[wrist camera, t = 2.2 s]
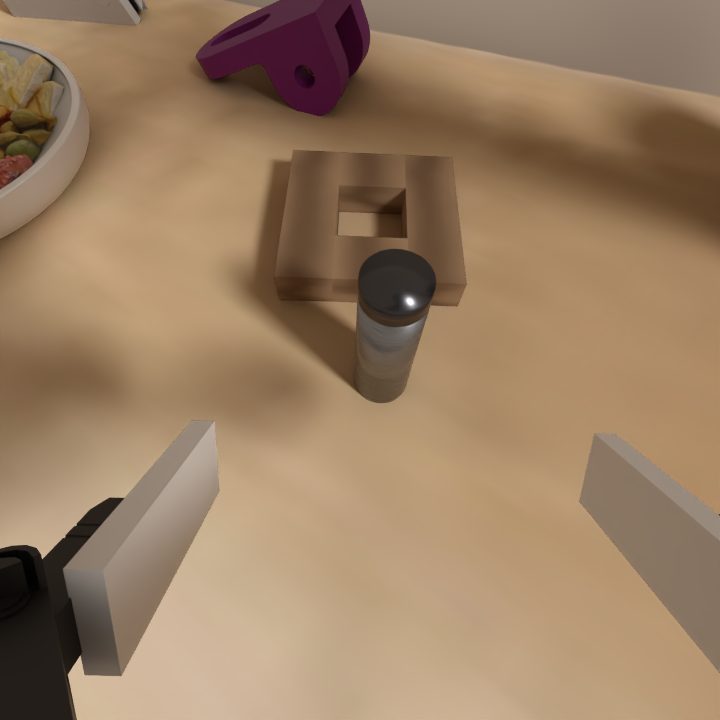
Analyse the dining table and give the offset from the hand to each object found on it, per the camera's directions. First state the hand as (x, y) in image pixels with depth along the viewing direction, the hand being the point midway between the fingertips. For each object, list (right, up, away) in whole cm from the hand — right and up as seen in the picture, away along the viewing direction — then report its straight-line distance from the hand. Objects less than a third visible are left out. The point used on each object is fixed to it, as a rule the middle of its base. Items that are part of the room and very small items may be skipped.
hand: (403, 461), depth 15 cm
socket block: (-1, +15, +24) cm, 29 cm away
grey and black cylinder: (0, +2, +18) cm, 18 cm away
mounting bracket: (-11, +37, +36) cm, 53 cm away
